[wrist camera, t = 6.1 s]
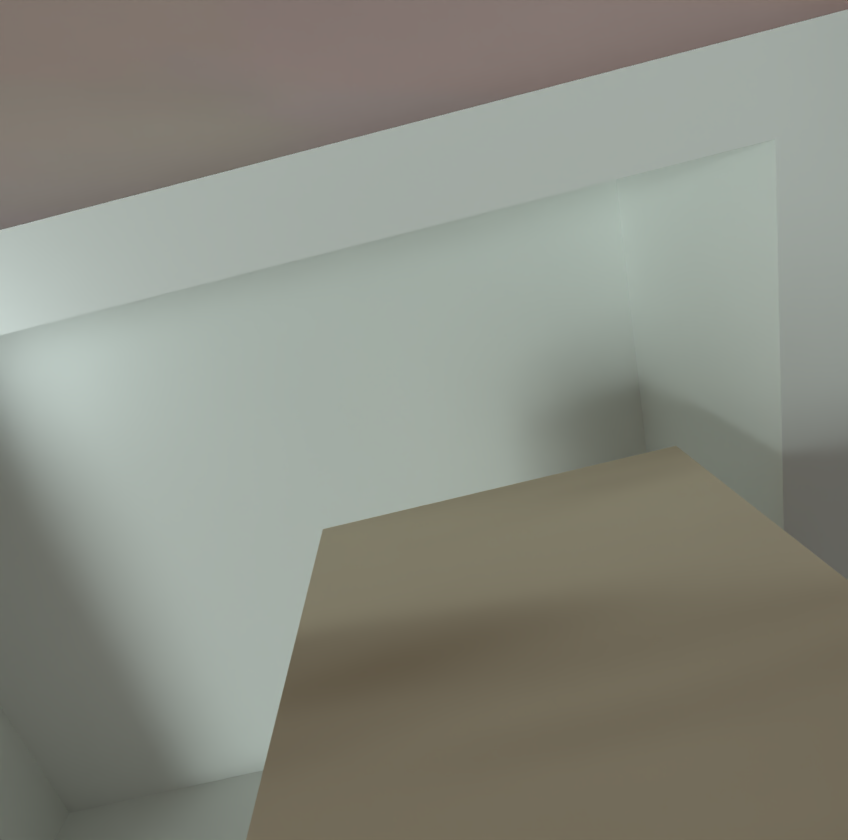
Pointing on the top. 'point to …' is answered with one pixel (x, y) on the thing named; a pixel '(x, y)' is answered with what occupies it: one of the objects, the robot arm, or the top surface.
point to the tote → (390, 387)
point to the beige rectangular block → (566, 670)
